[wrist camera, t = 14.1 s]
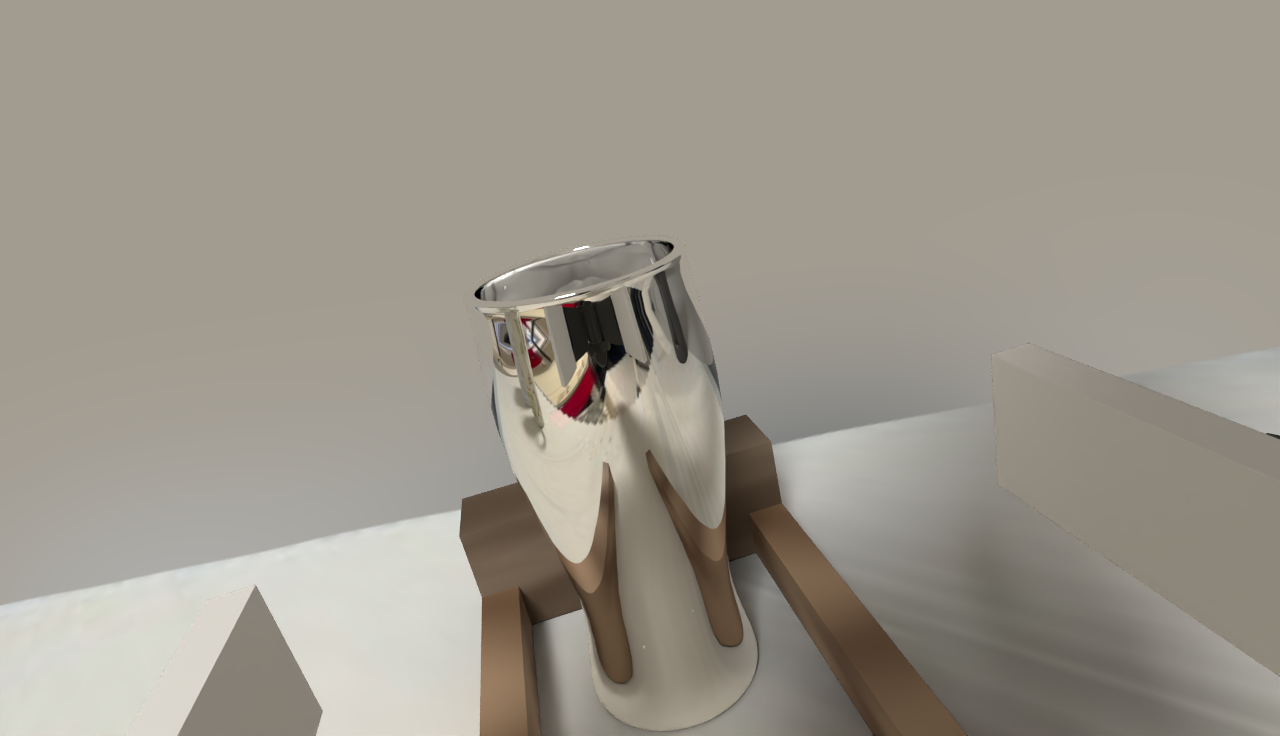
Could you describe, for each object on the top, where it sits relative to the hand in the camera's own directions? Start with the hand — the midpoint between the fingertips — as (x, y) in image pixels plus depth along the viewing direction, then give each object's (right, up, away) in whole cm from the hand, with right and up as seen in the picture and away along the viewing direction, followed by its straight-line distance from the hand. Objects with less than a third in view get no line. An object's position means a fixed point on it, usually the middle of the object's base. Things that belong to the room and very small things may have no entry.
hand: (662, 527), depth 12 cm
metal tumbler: (+1, -8, +13) cm, 16 cm away
